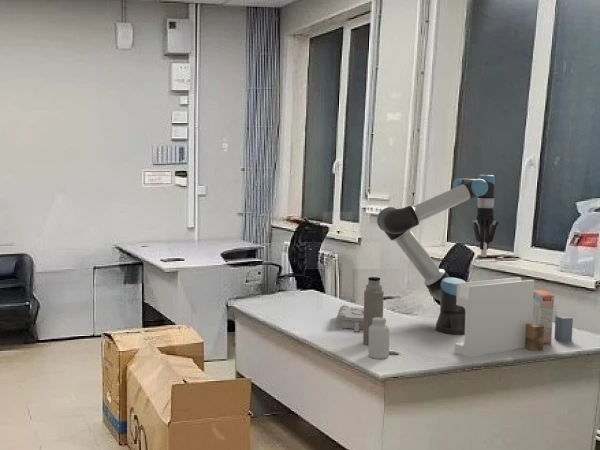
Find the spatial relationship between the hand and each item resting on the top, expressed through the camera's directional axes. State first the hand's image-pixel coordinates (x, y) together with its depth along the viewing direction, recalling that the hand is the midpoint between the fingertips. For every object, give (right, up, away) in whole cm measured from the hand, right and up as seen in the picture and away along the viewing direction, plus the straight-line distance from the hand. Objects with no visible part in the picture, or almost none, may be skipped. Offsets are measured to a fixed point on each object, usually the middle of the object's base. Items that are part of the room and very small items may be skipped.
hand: (483, 256), depth 293 cm
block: (-9, -36, -42) cm, 56 cm away
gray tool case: (-61, -33, -4) cm, 70 cm away
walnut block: (+8, -36, -42) cm, 56 cm away
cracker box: (+17, -35, -27) cm, 47 cm away
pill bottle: (-58, -36, -55) cm, 87 cm away
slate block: (+27, -35, -26) cm, 51 cm away
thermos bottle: (-58, -35, -36) cm, 77 cm away
